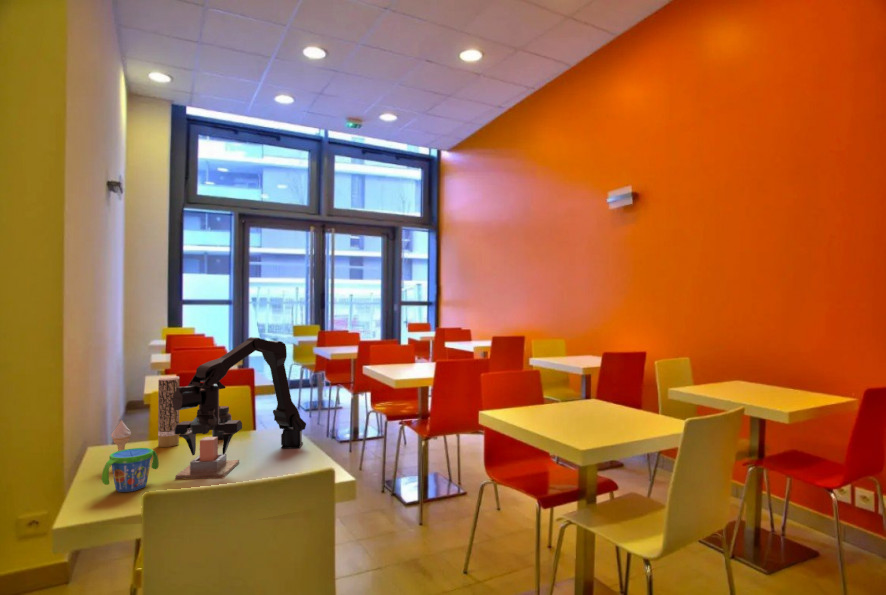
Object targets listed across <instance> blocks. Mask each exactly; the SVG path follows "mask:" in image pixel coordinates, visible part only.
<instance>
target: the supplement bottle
mask: <svg viewBox="0 0 886 595" xmlns="http://www.w3.org/2000/svg"><path fill="white" fill-rule="evenodd" d="M219 406H220V409H219V419H220V422H219V424H225V423H226V422H228V421H229V420H233V418H232V414H231V413H229V412H230V407H229V406H227V405H222V406H221V405H219ZM211 433H212V434H211V437H218V441H223V435H222V434H224V433H225V432H224V431H223V430H211Z"/></svg>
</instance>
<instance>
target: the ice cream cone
mask: <svg viewBox="0 0 886 595" xmlns="http://www.w3.org/2000/svg"><path fill="white" fill-rule="evenodd" d="M110 436H111V438H112V440H113V443H114V444H115V445H116V446H117V451H121V450H125V448H126V445H127V443H128V442H129V440H130V437H131V436H132V431H131V430H130V429H129V428H128V426H127V425H126V424H125V422H124V421H123V419H120V421H119V423H118V424H117V426H116V428H115V429H114V430H113V431H112V433H111V434H110Z"/></svg>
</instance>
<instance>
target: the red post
mask: <svg viewBox="0 0 886 595" xmlns="http://www.w3.org/2000/svg"><path fill="white" fill-rule="evenodd" d="M218 442H219V440H218V437H212V436H205V437H202V438H201V439H200V440H199V455H200V461H215V460H216V459H218V454H219V453H218V452H219V443H218Z"/></svg>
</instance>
